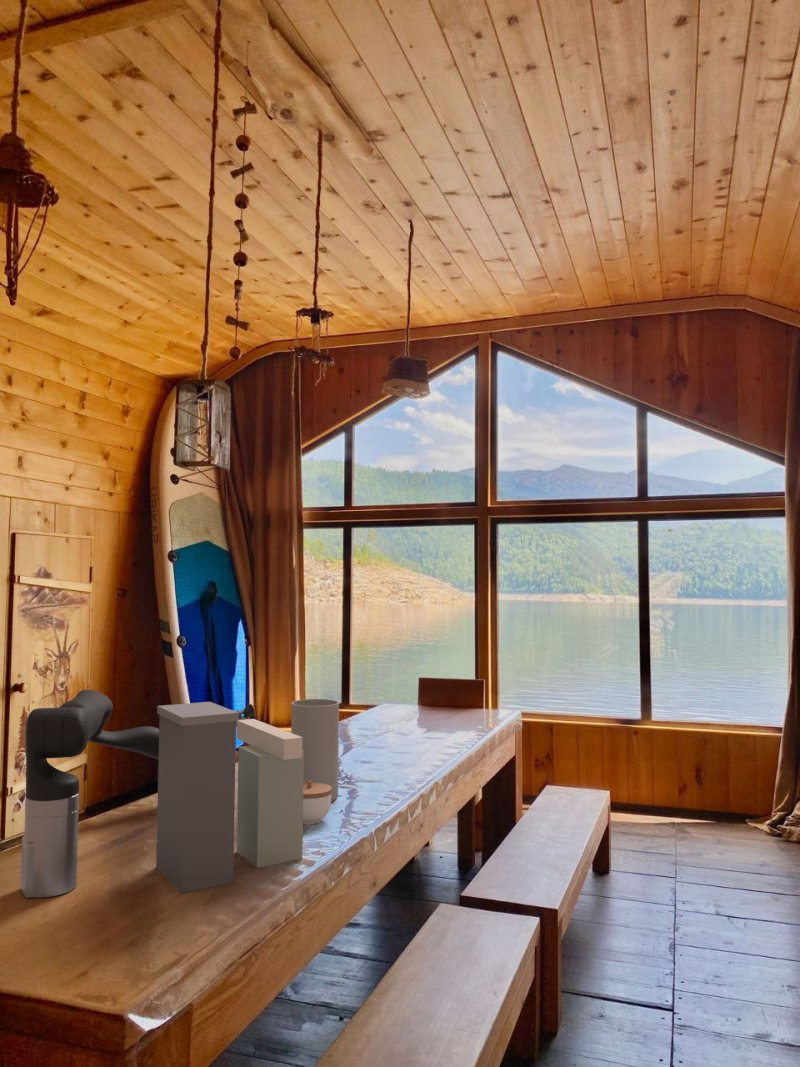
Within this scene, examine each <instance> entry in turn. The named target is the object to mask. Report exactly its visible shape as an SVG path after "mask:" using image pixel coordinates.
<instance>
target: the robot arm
mask: <svg viewBox="0 0 800 1067" xmlns="http://www.w3.org/2000/svg"><path fill="white" fill-rule="evenodd" d="M113 710H114V704H113V702H112V700H111V699H110V698H109V697H108V696H107V695H106V694H104V693H102V692H99V691H98V690H93V689H82V690H80V691H79V692H77V693H76V695H75V697H74V698H72V699H70V700H68V701H66V702H64V703H63V704H62V705H60V706H59V707H42V708H41V707H39V708H35V709H33V710H30V712H29V714H28V716H27V720H26V722H25V724H26V725H25V769H26V770H25V771H26V772H25V801H24V802H25V808H24V810H25V811H24V814H25V815H24V835H23V836H22V838H21V858H20V859H21V862H20V863H21V864H20V866H21V867H20V889H21V892H22V894H23V896H24V898H25V899H29V898H51V897H55V896H57V897H58V896H59V895H64V894H66V893H68V892H70V891H73V890H74V889H75V888H76V887H77V885H78V883H77V880H78V847H79V846H78V843H79V842H78V840H79V838H78V837H79V809H80V808H79V805H80V804H79V803H80V801H79V800H80V778H79V777H78V776H77V775H75V774H73V773H69V772H66V771H63V770H61V769H58V768H56V767H55V766H53V765H52V764H50V763H49V762H48V759H61V758H62V759H63V758H73V757H77V756H80V755H81V754H82V753H83V752H84V751H85V750H86V748H87V745H88V743H93V744H97V745H101V746H102V745H103V746H106V747H112V748H115V749H121V750H127V751H131V752H133V753H137V754H141V755H144V756H147V757H149V758H153V759H156V760H158V761H159V727H156V726H151V725H150V726H148V725H147V726H138V727H134V728H129V729H124V730H116V731H108V730H103V729H104V727H105V726H106V725H107V724H106V723H107V722H108V720H109V718H110V716H111V715H112V712H113ZM235 711H236V712H238V713H239V720H246V719H255V720H257V717H256V713H255V709H254V705H252V703H248V704H247V705H246V706H245V707H244V708H243V709H242V710H235ZM236 728H237V721H236Z"/></svg>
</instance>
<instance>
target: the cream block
mask: <svg viewBox="0 0 800 1067" xmlns="http://www.w3.org/2000/svg"><path fill="white" fill-rule="evenodd" d="M302 739H303V737H300V736H297V735H295V734H292V733H291V731H290V732H289V731H287V730H284V729H281V728H279V727H276V726H273V725H271V724H269V723H266V722H263V721H260V720H258V719H256V720H255V719H246V720H239V721H237V727H236V740H239V741H241V742H244V743H246V744H248V745H249V746H250V745H252V746H254V747H257V748H259V749H261V750H263V751H265V752H268V753H270V754H272V755H274V756H277V757H279V758H281V759H283V760H287V759H295V758H302Z"/></svg>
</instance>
